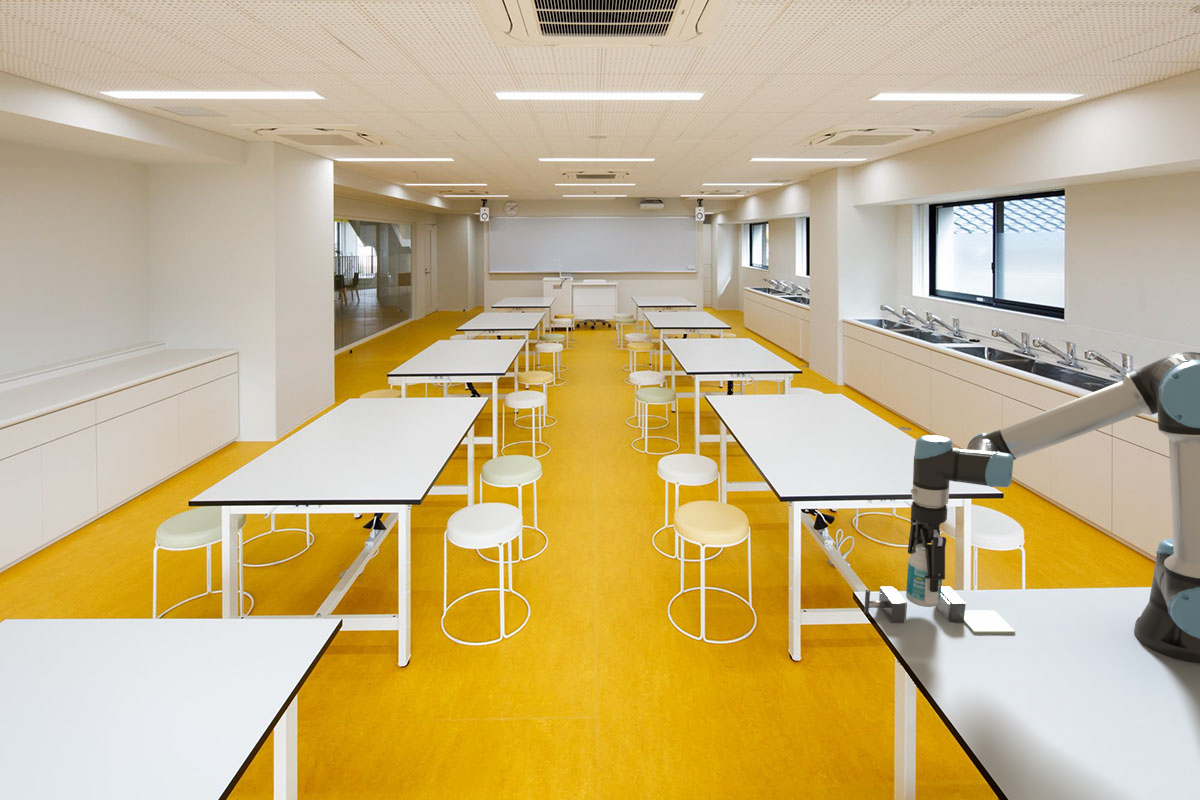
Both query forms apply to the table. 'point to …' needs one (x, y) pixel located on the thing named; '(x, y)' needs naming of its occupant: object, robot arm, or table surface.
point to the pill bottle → (919, 578)
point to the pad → (987, 623)
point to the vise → (897, 606)
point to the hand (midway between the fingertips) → (923, 594)
